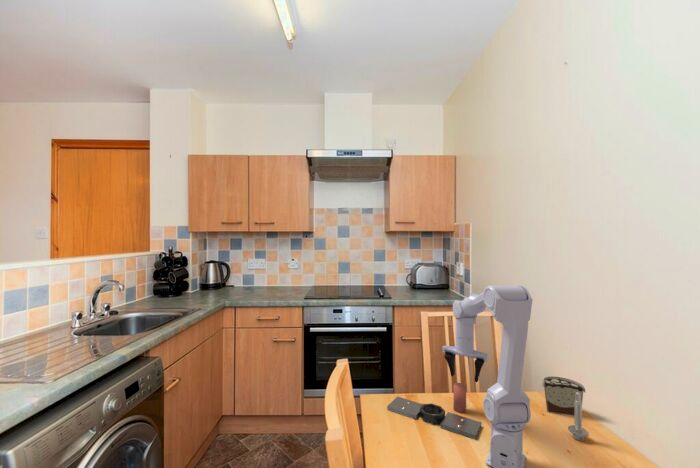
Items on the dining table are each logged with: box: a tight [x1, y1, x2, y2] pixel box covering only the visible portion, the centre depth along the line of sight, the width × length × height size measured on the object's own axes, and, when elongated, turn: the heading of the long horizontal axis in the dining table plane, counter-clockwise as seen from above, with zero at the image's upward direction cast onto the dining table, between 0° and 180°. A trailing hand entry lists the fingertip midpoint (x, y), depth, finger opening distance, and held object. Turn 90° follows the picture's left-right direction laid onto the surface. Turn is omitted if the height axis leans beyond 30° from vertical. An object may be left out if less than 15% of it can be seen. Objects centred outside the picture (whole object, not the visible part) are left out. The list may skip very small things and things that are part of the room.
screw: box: [567, 392, 590, 442], centre depth 89 cm, size 13×5×5 cm
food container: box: [541, 376, 586, 417], centre depth 104 cm, size 12×6×10 cm, turn 74°
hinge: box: [386, 396, 482, 440], centre depth 98 cm, size 8×28×2 cm, turn 57°
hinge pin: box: [453, 382, 467, 414], centre depth 103 cm, size 4×4×8 cm
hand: (464, 378), depth 103 cm, fingers open, 7 cm apart
